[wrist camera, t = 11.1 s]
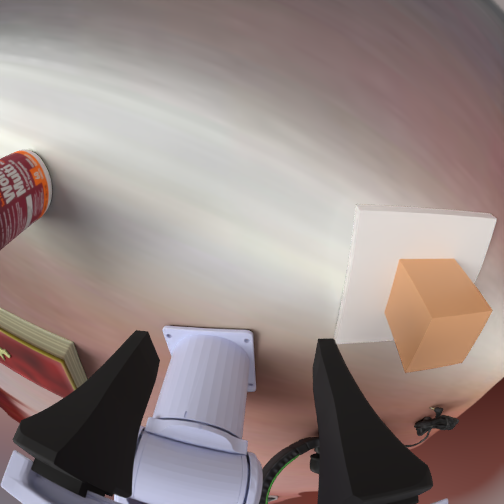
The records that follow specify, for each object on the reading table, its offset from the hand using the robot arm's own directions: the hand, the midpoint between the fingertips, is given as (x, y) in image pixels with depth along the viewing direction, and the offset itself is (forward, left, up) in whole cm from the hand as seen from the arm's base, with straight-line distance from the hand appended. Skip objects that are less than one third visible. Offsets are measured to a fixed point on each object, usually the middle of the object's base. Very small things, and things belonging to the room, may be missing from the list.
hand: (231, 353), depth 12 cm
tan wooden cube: (-3, -13, -8) cm, 16 cm away
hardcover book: (-16, +33, -10) cm, 38 cm away
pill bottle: (+6, +18, -10) cm, 21 cm away
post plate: (-3, -13, -9) cm, 16 cm away
